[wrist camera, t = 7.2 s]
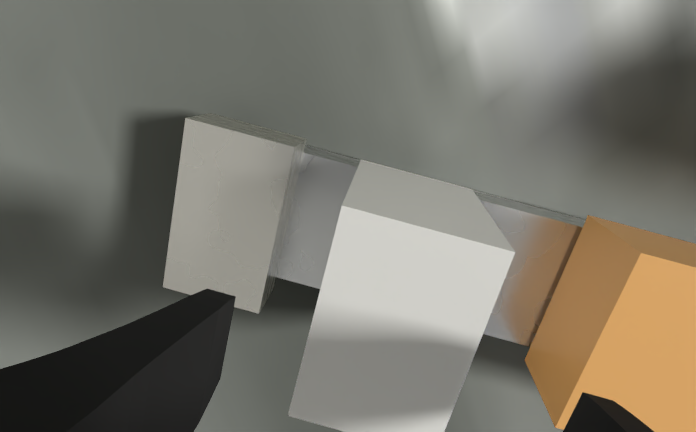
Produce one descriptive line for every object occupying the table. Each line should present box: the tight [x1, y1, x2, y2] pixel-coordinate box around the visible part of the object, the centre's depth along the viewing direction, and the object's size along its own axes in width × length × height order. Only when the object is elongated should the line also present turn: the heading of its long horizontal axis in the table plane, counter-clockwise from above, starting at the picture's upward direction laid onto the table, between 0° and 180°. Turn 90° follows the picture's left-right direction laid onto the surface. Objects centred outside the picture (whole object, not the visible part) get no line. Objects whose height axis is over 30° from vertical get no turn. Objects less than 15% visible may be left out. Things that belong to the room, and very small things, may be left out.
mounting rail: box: [163, 113, 586, 347], centre depth 16 cm, size 6×29×4 cm, turn 76°
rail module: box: [288, 160, 515, 432], centre depth 14 cm, size 6×4×6 cm, turn 166°
